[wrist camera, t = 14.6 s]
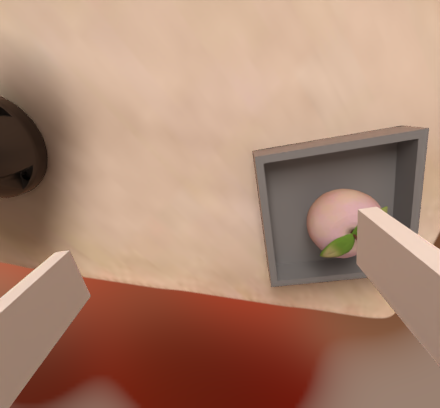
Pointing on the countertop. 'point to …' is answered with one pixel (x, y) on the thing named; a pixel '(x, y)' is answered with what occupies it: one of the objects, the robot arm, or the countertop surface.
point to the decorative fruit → (337, 221)
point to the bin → (327, 181)
